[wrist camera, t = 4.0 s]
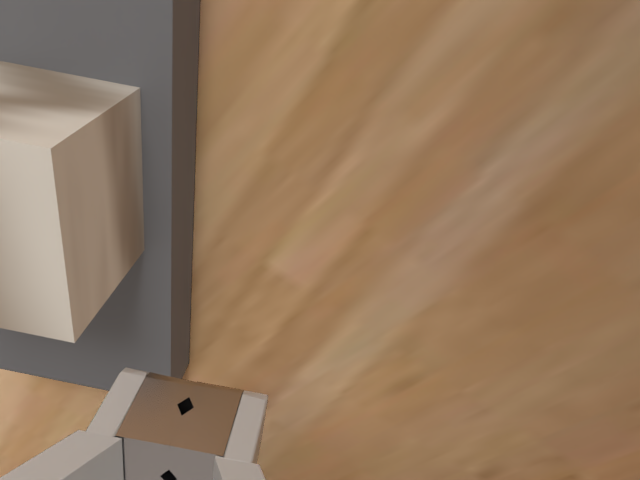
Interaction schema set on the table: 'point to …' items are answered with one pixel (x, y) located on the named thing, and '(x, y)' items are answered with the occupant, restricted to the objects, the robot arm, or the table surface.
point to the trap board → (157, 168)
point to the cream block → (66, 197)
